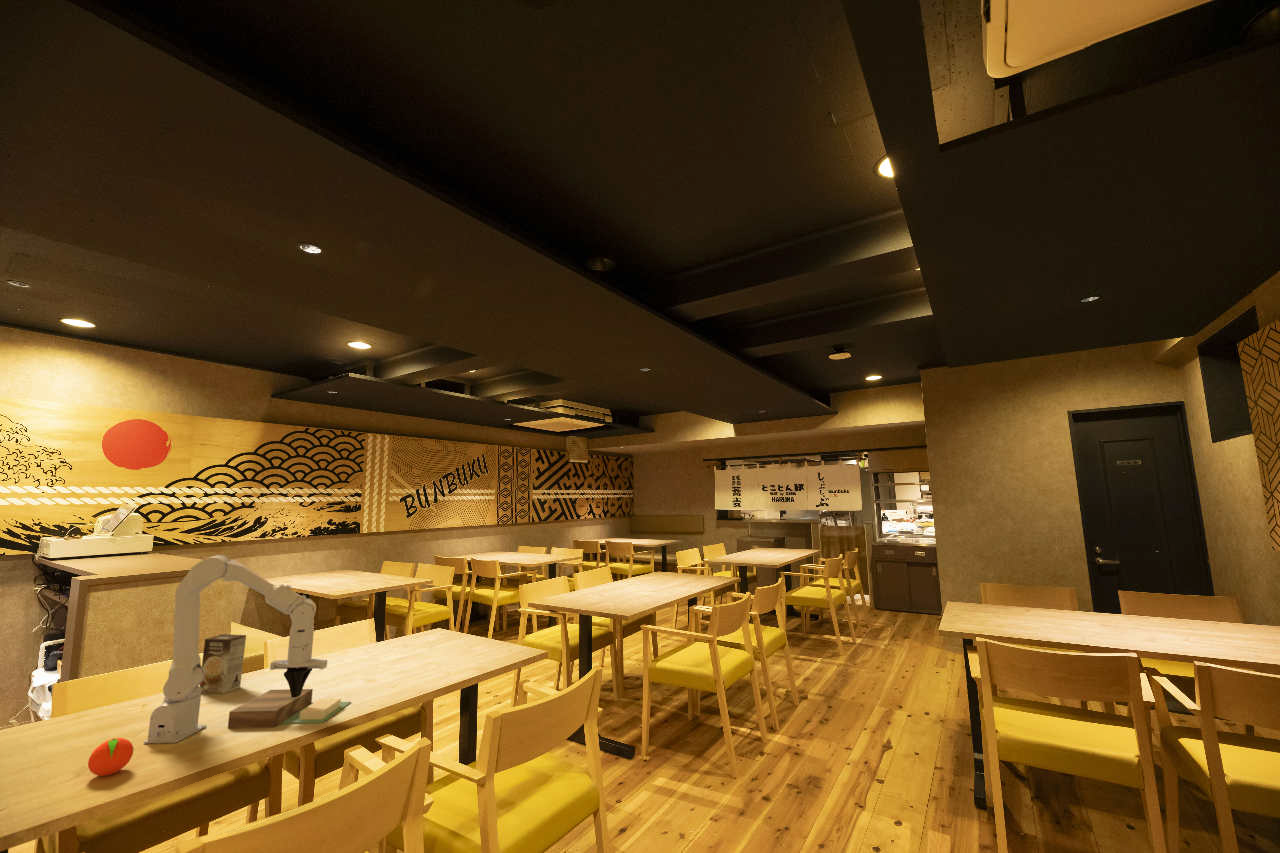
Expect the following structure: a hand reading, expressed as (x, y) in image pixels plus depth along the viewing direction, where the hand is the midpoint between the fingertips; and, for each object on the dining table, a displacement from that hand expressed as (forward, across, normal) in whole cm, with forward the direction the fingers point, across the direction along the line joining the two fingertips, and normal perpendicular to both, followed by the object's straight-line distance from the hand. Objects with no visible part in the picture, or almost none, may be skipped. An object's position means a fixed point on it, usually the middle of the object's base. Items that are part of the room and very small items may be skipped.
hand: (296, 696), depth 143 cm
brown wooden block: (+5, +6, 0) cm, 8 cm away
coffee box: (+5, +36, -21) cm, 42 cm away
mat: (+5, -6, -1) cm, 8 cm away
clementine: (+5, +20, +31) cm, 37 cm away
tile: (+2, -7, 0) cm, 7 cm away
